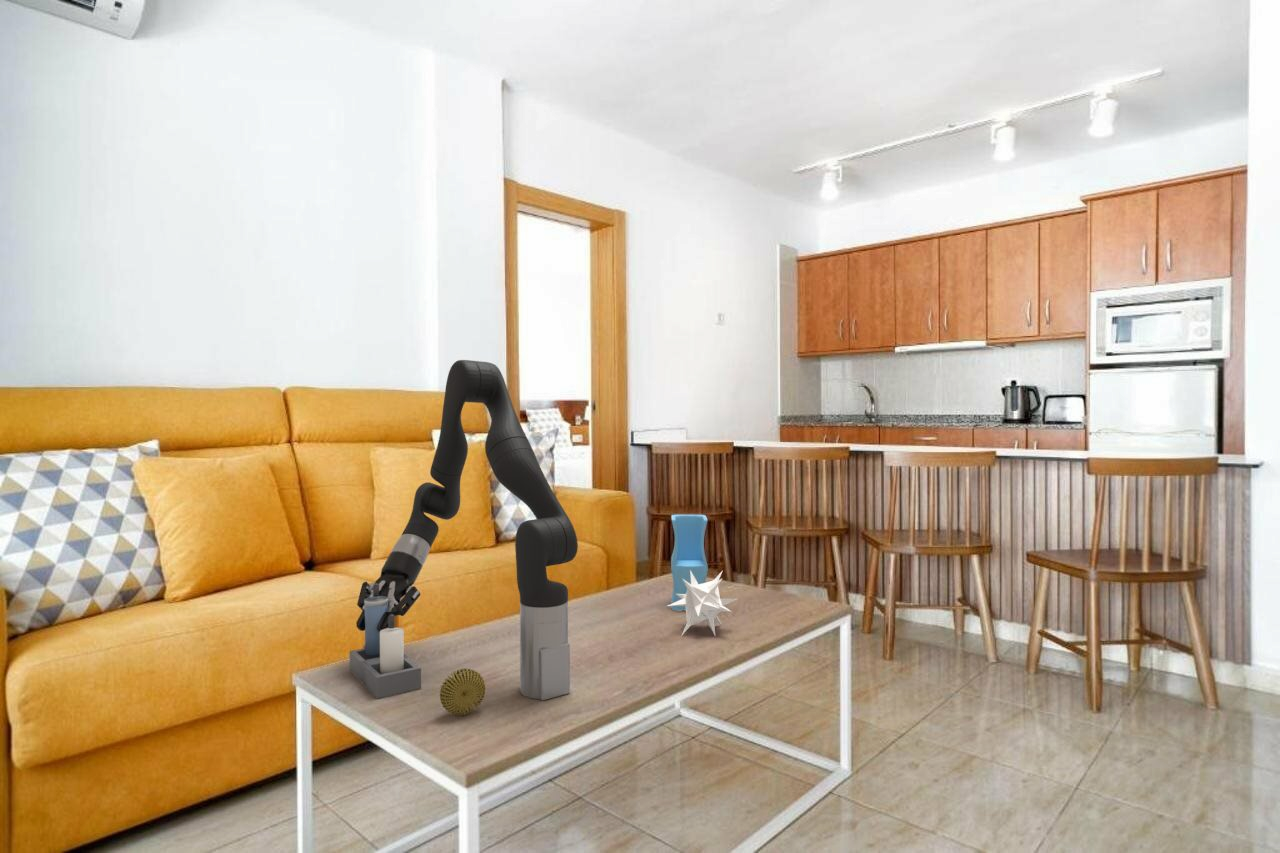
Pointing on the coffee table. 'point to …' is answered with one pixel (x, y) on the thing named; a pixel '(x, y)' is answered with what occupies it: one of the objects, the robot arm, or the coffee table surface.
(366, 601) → the canister
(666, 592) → the coffee table surface
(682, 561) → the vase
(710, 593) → the star ornament
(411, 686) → the gray two-compartment caddy
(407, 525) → the robot arm
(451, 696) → the sculpture
